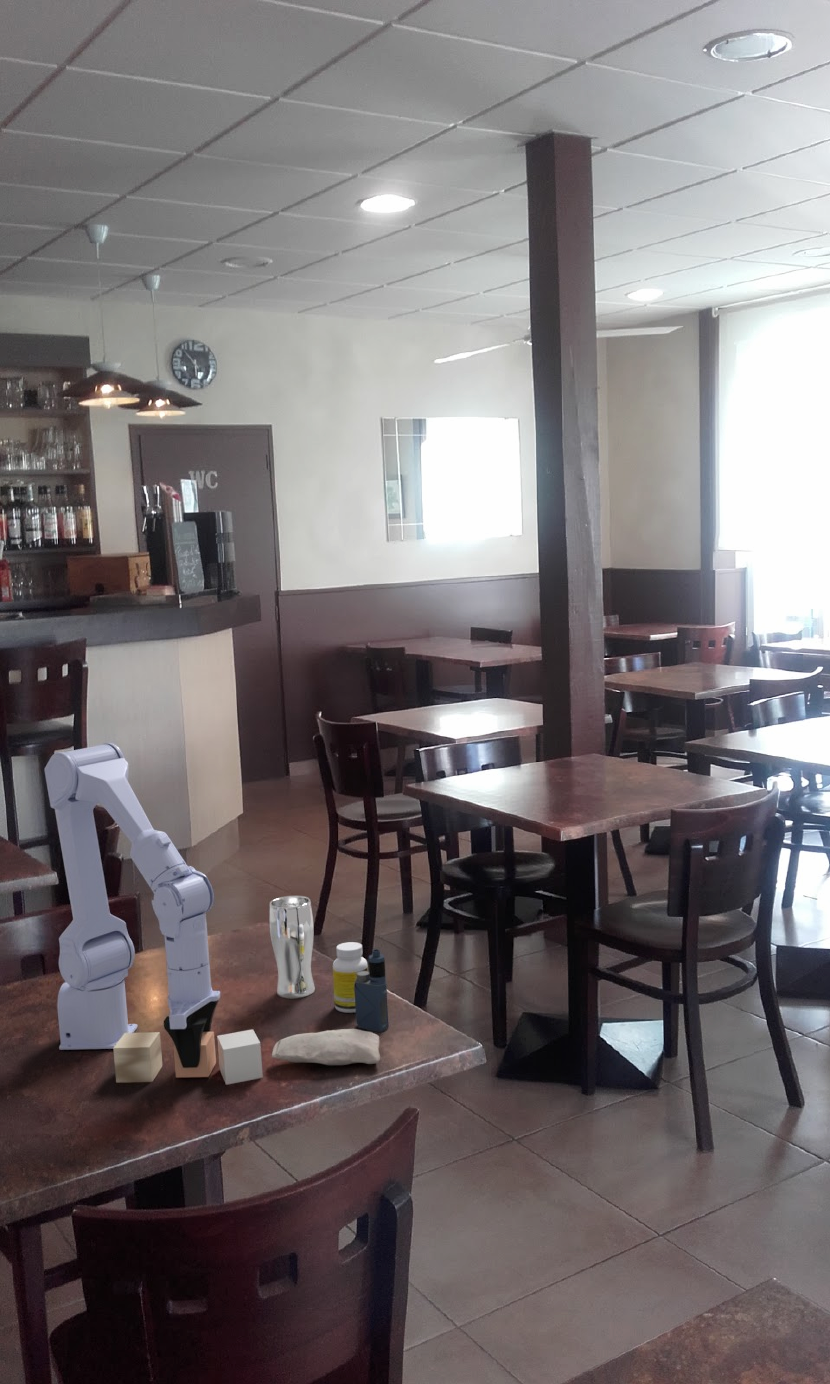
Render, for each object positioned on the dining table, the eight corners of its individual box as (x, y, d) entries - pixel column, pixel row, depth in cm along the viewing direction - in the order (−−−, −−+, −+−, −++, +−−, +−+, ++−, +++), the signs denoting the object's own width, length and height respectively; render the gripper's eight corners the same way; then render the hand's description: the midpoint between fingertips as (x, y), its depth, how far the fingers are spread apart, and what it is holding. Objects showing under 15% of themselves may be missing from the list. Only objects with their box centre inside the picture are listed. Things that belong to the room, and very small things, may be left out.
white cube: (226, 1085, 159) (223, 1049, 158) (219, 1070, 164) (217, 1035, 163) (262, 1078, 160) (260, 1043, 160) (255, 1063, 165) (253, 1029, 165)
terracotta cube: (175, 1077, 161) (173, 1046, 160) (184, 1063, 165) (182, 1032, 165) (208, 1077, 161) (206, 1045, 160) (216, 1062, 165) (213, 1031, 164)
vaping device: (382, 1033, 173) (378, 954, 171) (353, 1027, 176) (348, 949, 174) (392, 1027, 175) (388, 948, 173) (363, 1021, 178) (358, 944, 176)
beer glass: (326, 987, 192) (320, 898, 190) (299, 1002, 186) (293, 910, 184) (292, 981, 196) (286, 893, 194) (265, 995, 190) (259, 905, 188)
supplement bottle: (365, 1014, 180) (361, 952, 179) (330, 1013, 181) (326, 951, 180) (373, 1001, 186) (370, 940, 184) (340, 1000, 187) (336, 940, 185)
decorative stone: (381, 1042, 160) (270, 1052, 159) (383, 1072, 161) (272, 1082, 160) (377, 1013, 170) (271, 1022, 168) (378, 1041, 170) (273, 1050, 169)
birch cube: (116, 1083, 161) (113, 1048, 161) (127, 1067, 166) (124, 1033, 166) (152, 1082, 161) (149, 1047, 160) (162, 1066, 166) (159, 1032, 165)
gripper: (204, 982, 154) (211, 1081, 155) (228, 944, 168) (235, 1036, 170) (150, 983, 154) (158, 1082, 156) (179, 945, 168) (187, 1037, 170)
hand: (195, 1058), depth 163 cm, fingers closed on terracotta cube, 4 cm apart
